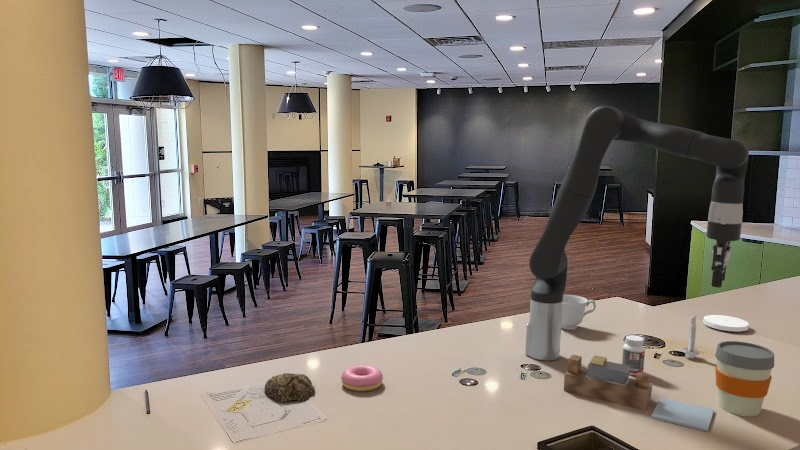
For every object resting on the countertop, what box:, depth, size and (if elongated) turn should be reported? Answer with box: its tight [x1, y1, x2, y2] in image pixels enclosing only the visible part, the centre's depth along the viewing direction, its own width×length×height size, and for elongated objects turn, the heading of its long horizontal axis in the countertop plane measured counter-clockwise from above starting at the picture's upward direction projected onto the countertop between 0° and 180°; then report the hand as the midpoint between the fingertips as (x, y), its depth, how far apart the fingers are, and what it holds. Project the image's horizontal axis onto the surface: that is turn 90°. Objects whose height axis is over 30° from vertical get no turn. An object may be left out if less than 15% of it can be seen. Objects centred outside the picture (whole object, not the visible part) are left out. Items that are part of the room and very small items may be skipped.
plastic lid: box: [703, 314, 750, 333], centre depth 215 cm, size 14×14×2 cm
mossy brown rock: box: [264, 372, 316, 403], centre depth 156 cm, size 13×12×5 cm
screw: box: [681, 315, 701, 360], centre depth 184 cm, size 13×5×5 cm
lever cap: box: [587, 354, 630, 384], centre depth 157 cm, size 9×5×4 cm, turn 58°
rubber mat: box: [650, 397, 715, 432], centre depth 147 cm, size 12×12×1 cm
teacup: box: [561, 294, 597, 331], centre depth 211 cm, size 12×15×10 cm
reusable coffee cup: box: [714, 340, 775, 417], centre depth 150 cm, size 13×13×15 cm
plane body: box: [563, 354, 653, 411], centre depth 157 cm, size 20×7×8 cm, turn 58°
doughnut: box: [340, 364, 384, 392], centre depth 161 cm, size 11×11×4 cm
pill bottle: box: [621, 335, 646, 376], centre depth 172 cm, size 6×6×10 cm
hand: (718, 283), depth 157 cm, fingers open, 8 cm apart
